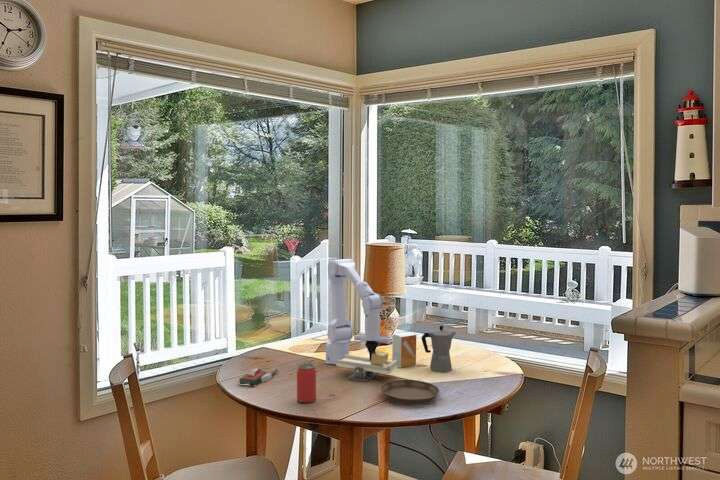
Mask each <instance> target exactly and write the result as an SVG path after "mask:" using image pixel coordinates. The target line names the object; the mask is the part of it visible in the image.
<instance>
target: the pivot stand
mask: <svg viewBox="0 0 720 480" xmlns="http://www.w3.org/2000/svg"><path fill="white" fill-rule="evenodd" d="M378 374H379V373H377V372H370V371H364V370H363V368H359V367H355V369H354V372H353V373H351V374H350V375H348V376H347V381H355V382H362V383H363V382H364V383H368V382H369V381H370V380H371V379H373V378H374V377H376V375H378Z"/></svg>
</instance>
